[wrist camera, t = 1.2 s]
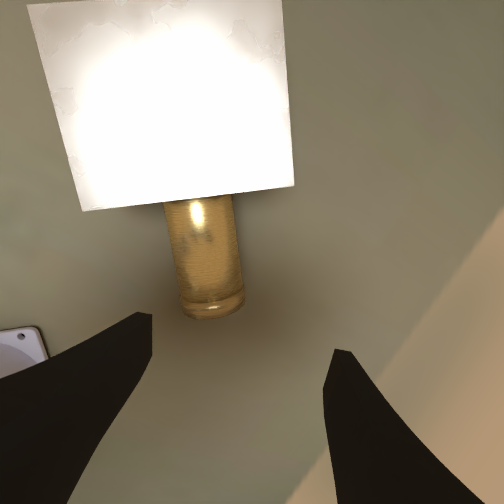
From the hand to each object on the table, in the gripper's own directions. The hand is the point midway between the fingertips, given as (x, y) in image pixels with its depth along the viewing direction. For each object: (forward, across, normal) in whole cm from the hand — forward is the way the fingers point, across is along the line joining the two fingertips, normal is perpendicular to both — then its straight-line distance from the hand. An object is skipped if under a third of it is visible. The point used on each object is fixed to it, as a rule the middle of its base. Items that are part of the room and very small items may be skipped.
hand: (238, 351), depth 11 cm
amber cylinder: (+9, +4, -2) cm, 11 cm away
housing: (+11, +6, -8) cm, 15 cm away
